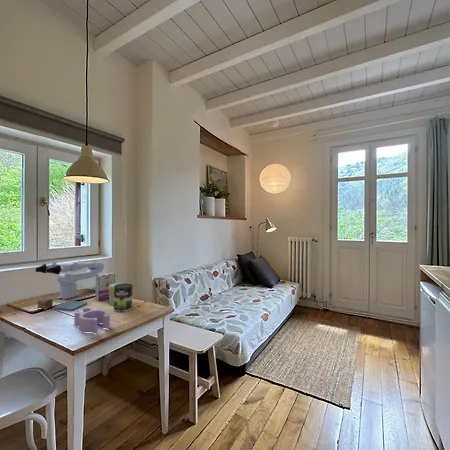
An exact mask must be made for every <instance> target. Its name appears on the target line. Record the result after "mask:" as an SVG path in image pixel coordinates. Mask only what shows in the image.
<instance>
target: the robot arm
mask: <svg viewBox="0 0 450 450" xmlns="http://www.w3.org/2000/svg"><path fill="white" fill-rule="evenodd" d="M85 268H86V271H82V270H84V269H85ZM104 268H105V264H104V263H103V262H97V261H96V262H93V261H87V262H84V261H81V260H78V261H73V262H70V261H67V262H63V263H57V261H55V262H52V264H49V265H47V263H42V265H40V266H38V267H36V268H35V273H42V274H47V273H49V274H52V275H58V276H57V278H56V279H57V280H56V281H57V283H58V284H59V285H60V286H59V291H60V292H59V296H57V297H56V299H59V298H62V299H61V300H69V299H71V297H72V298H74V297H77V296H78V293H77V292H78V291H77V290H78V288H77V287H78V286H77V283H76V282H78V281H81V280H86V279H92V278H94V277H96V275H99V274H100V273H103V270H104ZM77 271H81V272H77ZM67 272H76V273H67ZM66 298H67V299H66ZM68 298H69V299H68Z"/></svg>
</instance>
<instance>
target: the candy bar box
mask: <svg viewBox="0 0 450 450" xmlns="http://www.w3.org/2000/svg"><path fill="white" fill-rule="evenodd" d="M114 283H116V273H114V272H107V273H102V274H100V273H99V274H97V275H96V276H95V300H96V301H97V302H101V301H105V300H108V299H109V285H110V284H114Z"/></svg>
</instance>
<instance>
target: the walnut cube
mask: <svg viewBox="0 0 450 450" xmlns="http://www.w3.org/2000/svg"><path fill="white" fill-rule="evenodd" d="M53 302H54V299H53V298H48V297H46V298H42V299H39V300H38V301H37V309H38V308H41V309H44V310H43V311H47V310H48V308H49V309H51V308H50V307H52V306H53ZM52 308H53V307H52Z"/></svg>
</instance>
